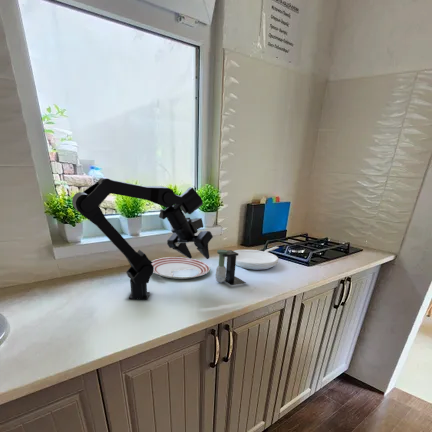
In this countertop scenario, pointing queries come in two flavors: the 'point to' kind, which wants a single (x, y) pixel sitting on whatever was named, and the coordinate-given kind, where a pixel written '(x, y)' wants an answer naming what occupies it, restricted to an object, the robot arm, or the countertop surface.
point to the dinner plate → (178, 266)
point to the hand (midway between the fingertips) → (199, 258)
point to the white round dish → (256, 259)
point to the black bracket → (231, 268)
